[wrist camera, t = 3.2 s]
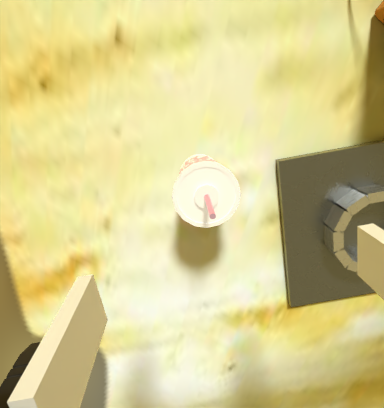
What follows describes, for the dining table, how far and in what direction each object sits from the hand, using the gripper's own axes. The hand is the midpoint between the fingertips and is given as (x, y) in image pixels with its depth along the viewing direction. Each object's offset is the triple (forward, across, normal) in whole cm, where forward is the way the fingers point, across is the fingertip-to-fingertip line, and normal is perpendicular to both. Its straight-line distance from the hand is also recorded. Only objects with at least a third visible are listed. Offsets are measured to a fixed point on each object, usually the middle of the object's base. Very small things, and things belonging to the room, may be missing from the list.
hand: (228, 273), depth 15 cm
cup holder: (+22, +19, -10) cm, 31 cm away
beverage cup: (+22, 0, 0) cm, 22 cm away
